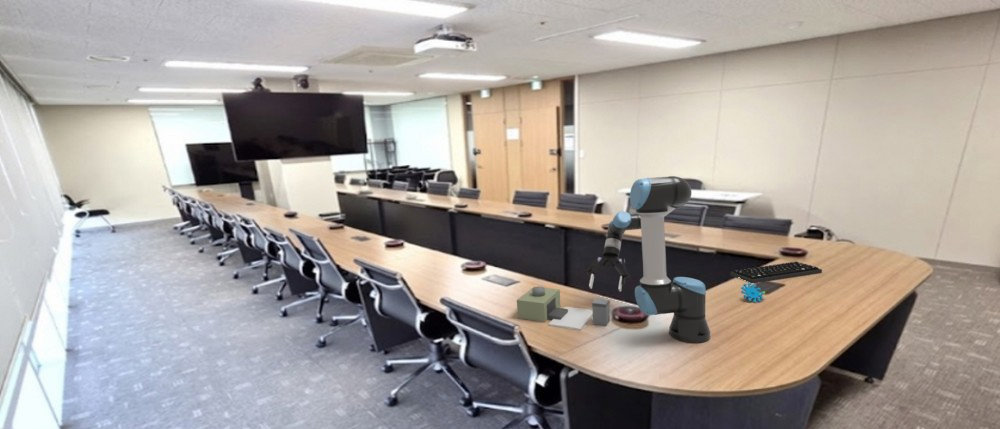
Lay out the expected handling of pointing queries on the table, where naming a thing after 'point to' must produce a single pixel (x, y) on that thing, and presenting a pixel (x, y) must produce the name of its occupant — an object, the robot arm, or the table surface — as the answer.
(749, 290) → the blue virus model
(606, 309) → the gray lidded box
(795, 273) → the computer keyboard
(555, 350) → the table surface
